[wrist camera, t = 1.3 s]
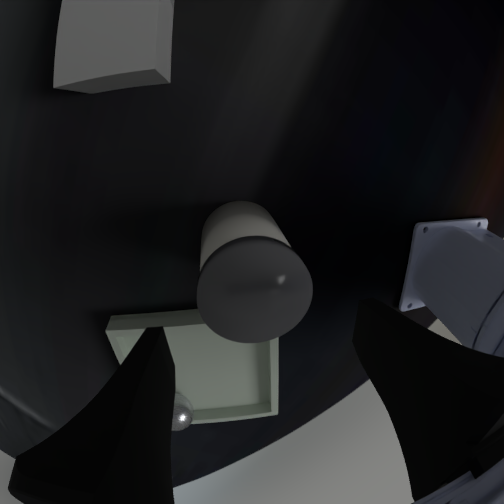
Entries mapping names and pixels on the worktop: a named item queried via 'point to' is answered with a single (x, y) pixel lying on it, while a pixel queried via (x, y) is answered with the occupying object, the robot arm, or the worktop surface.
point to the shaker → (250, 276)
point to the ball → (182, 412)
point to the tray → (208, 365)
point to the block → (113, 44)
